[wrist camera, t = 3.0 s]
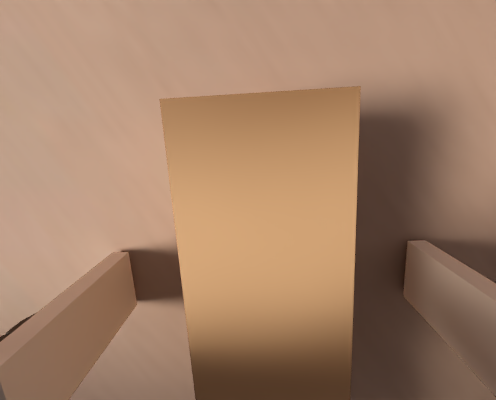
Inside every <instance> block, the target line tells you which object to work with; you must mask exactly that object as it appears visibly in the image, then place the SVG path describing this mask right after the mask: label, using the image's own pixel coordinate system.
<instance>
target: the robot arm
mask: <svg viewBox="0 0 496 400" xmlns="http://www.w3.org/2000/svg"><path fill="white" fill-rule="evenodd" d="M403 296H404V298H405V299H406V300H407V301H408V302H409V303H410V304H411V305H412V306H413V307H414V308H415V309H416V311H417V312H418V313H419V314H420V315H421V316H422V317H423V318H424V319H425V320H426V321H427V323H428V324H429V325H430V326H431V327H432V328H433V329H434V330H435V331H436V332H437V333H438V334H439V336H440V337H441V338H442V339H443V340H444V341H445V342H446V343H447V344H448V345H449V346H450V348H451V349H452V350H453V351H454V352H455V353H456V354H457V355H458V356H459V357H460V358H461V360H462V361H463V362H464V363H465V364H466V365H467V366H468V367H469V368H470V369H471V370H472V371H473V373H474V374H475V375H476V376H477V377H478V378H479V379H480V380H481V381H482V382H483V383H484V385H485V386H486V387H487V388H488V389H489V390H490V391H491V392H492V393H493V394H494V395H495V397H496V283H494V282H493V281H491V280H489V279H488V278H486V277H484V276H483V275H481V274H480V273H478V272H476V271H475V270H473V269H471V268H470V267H468V266H467V265H465V264H463V263H462V262H460V261H458V260H457V259H455V258H453V257H452V256H450V255H449V254H447V253H445V252H444V251H442V250H440V249H439V248H437V247H436V246H434V245H432V244H431V243H429V242H427V241H426V240H418V241H408V243H407V256H406V268H405V281H404V294H403ZM136 305H137V301H136V294H135V288H134V282H133V276H132V270H131V264H130V258H129V252H113V253H111V254H110V255H109V256H108V257H106V258H105V259H104V260H103V261H101V262H100V263H99V264H97V265H96V266H95V267H94V268H92V269H91V270H90V271H89V272H87V273H86V274H85V275H84V276H82V277H81V278H80V279H79V280H77V281H76V282H75V283H74V284H72V285H71V286H70V287H69V288H67V289H66V290H65V291H64V292H62V293H61V294H60V295H59V296H57V297H56V298H55V299H54V300H52V301H51V302H50V303H49V304H47V305H46V306H45V307H44V308H42V309H41V310H40V311H39V312H37V313H35V314H33V315H31V316H30V317H28V318H26V319H24V320H22V321H20V322H19V323H18V324H17V325H15V326H14V327H13V328H11V329H10V330H9V331H8V332H6V335H3V336H1V337H0V400H69V399H70V397H71V396H72V394H73V393H74V392H75V390H76V389H77V387H78V386H79V385H80V383H81V382H82V380H83V379H84V378H85V376H86V375H87V373H88V372H89V371H90V369H91V368H92V366H93V365H94V364H95V362H96V361H97V360H98V358H99V357H100V355H101V354H102V353H103V351H104V350H105V348H106V347H107V346H108V344H109V343H110V341H111V340H112V339H113V337H114V336H115V334H116V333H117V332H118V330H119V329H120V327H121V326H122V325H123V323H124V322H125V321H126V319H127V318H128V316H129V315H130V314H131V312H132V311H133V309H134V308H135V307H136Z"/></svg>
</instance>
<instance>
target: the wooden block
mask: <svg viewBox="0 0 496 400" xmlns="http://www.w3.org/2000/svg"><path fill="white" fill-rule="evenodd" d="M360 87H361V86H356V87H341V88H325V89H309V90H294V91H278V92H262V93H247V94H231V95H215V96H200V97H184V98H168V99H160V107H161V115H162V124H163V132H164V140H165V148H166V157H167V165H168V173H169V182H170V190H171V198H172V207H173V215H174V223H175V232H176V240H177V248H178V257H179V265H180V273H181V282H182V290H183V298H184V307H185V315H186V323H187V332H188V340H189V348H190V356H191V365H192V373H193V381H194V390H195V398H196V400H350V392H351V362H352V331H353V301H354V270H355V239H356V209H357V178H358V148H359V117H360Z"/></svg>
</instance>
